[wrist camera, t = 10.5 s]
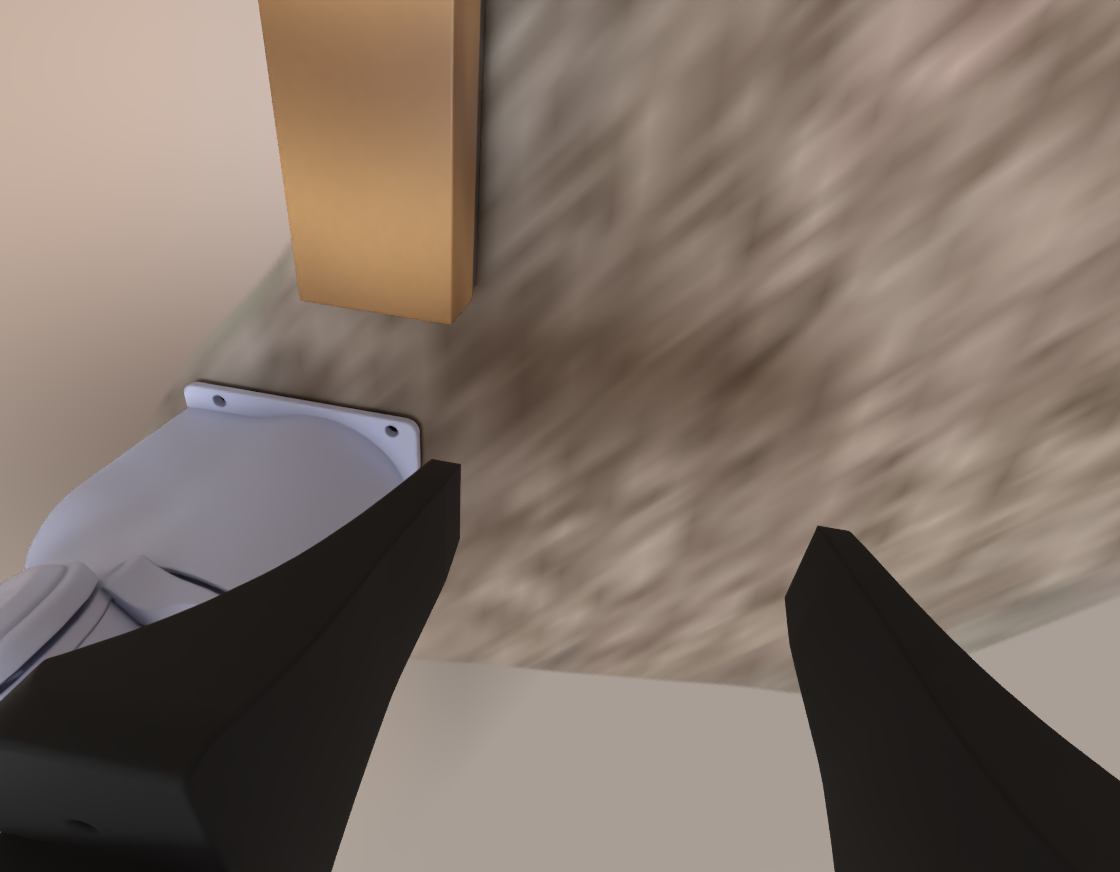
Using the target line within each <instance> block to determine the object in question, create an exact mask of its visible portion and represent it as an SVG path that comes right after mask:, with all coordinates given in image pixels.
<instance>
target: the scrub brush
mask: <svg viewBox="0 0 1120 872" xmlns="http://www.w3.org/2000/svg"><path fill="white" fill-rule="evenodd" d="M258 2H259V9H260V16H261V23H262V31H263V38H264V45H265V53H266V60H267V66H268V74H269V81H270V88H271V96H272V103H273V110H274V117H275V125H276V131H277V139H278V146H279V153H280V161H281V168H282V174H283V182H284V189H285V196H286V203H287V211H288V218H289V226H290V233H291V240H292V247H293V254H294V262H295V269H296V276H297V283H298V290H299V298H300V300H301V301H307V302H313V303H319V304H325V305H331V306H338V307H344V308H350V309H356V310H362V311H368V312H375V313H381V314H387V315H393V316H399V317H405V318H412V319H418V320H424V321H430V322H436V323H442V324H449V325H451V324H452V323H453V322H454V321H455V320H456V318H457V317H458V316H459V315H460V314H461V312H462V311H463V310H464V309H465V307H466V306H467V305H468V304H469V303H470V301H471V300H472V289H473V288H474V286H475V285H476V270H477V239H478V209H479V178H480V147H481V117H482V86H483V55H484V25H485V0H258Z"/></svg>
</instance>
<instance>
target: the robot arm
mask: <svg viewBox="0 0 1120 872" xmlns="http://www.w3.org/2000/svg"><path fill="white" fill-rule="evenodd" d="M184 395H185V399H186V403H187V406H188V408H187V409H185V410H184V411H183V412H181V413H180V414H178V415H177V416H175V417H174V418H173V419H171V420H170V421H168V422H167V423H166V424H164V425H163V426H161V427H160V428H159V429H157V430H156V431H154V432H153V433H152V434H150V435H149V436H147V437H146V438H145V439H143V440H142V441H140V442H139V443H137V444H136V445H135V446H133V447H132V448H130V449H129V450H128V451H126V452H125V453H123V454H122V455H121V456H119V457H118V458H116V459H115V460H114V461H112V462H111V463H110V464H108V465H107V466H105V467H104V468H102V469H101V470H100V471H98V472H97V473H95V474H94V475H92V476H91V477H90V478H88V479H87V480H85V481H84V482H83V483H81V484H80V485H78V486H77V487H76V488H74V489H73V490H72V491H71V492H70V493H69V494H67V495H66V496H65V497H64V498H63V499H62V500H61V501H60V502H59V503H58V504H57V506H56V507H55V508H54V509H53V510H52V512H51V513H50V514H49V516H48V517H47V518H46V520H45V521H44V523H43V524H42V526H41V528H40V529H39V531H38V533H37V534H36V536H35V538H34V540H33V542H32V544H31V547H30V549H29V552H28V555H27V558H26V562H25V567H24V571H22V572H20V573H18V574H16V575H14V576H12V577H11V578H9V579H7V580H5V581H4V582H2V583H0V872H331V871H332V868H333V865H334V861H335V858H336V855H337V852H338V849H339V846H340V843H341V840H342V837H343V834H344V831H345V828H346V825H347V822H348V819H349V816H350V812H351V810H352V807H353V804H354V800H355V798H356V795H357V792H358V789H359V786H360V783H361V780H362V777H363V775H364V772H365V769H366V766H367V763H368V760H369V757H370V754H371V751H372V749H373V746H374V743H375V740H376V738H377V735H378V732H379V729H380V727H381V724H382V721H383V718H384V716H385V713H386V710H387V708H388V705H389V702H390V699H391V696H392V694H393V692H394V690H395V687H396V685H397V683H398V680H399V678H400V676H401V674H402V672H403V669H404V667H405V665H406V663H407V661H408V659H409V657H410V655H411V653H412V651H413V649H414V647H415V644H416V642H417V640H418V638H419V636H420V634H421V632H422V630H423V628H424V626H425V624H426V622H427V619H428V617H429V615H430V613H431V611H432V609H433V607H434V605H435V603H436V601H437V598H438V596H439V594H440V592H441V590H442V588H443V586H444V583H445V581H446V578H447V575H448V573H449V570H450V567H451V564H452V561H453V558H454V555H455V552H456V548H457V545H458V542H459V539H460V484H461V464H457V463H451V462H445V461H440V460H434V459H432V460H430V461H429V462H427V463H426V464H425V465H423V466H422V467H421V462H420V430H419V427H418V425H417V424H416V423H415V422H414V421H413V420H411V419H408V418H404V417H398V416H392V415H386V414H381V413H375V412H369V411H363V410H358V409H352V408H346V407H340V406H335V405H329V404H323V403H317V402H312V401H306V400H300V399H294V398H289V397H283V396H277V395H271V394H266V393H260V392H254V391H248V390H243V389H237V388H231V387H225V386H220V385H214V384H208V383H202V382H193V383H191V384H189V385H188V386H186V387H185V389H184ZM220 396H221V397H222V398H224V400H225V401H223V400H222V399H221V398H220ZM389 426H394V427H395V428H396V429H397V430H398V432H395V431H392V430H391V429H390V427H389ZM785 605H786V616H787V626H788V635H789V643H790V648H791V653H792V657H793V661H794V665H795V670H796V674H797V678H798V682H799V686H800V690H801V694H802V698H803V702H804V705H805V710H806V714H807V718H808V722H809V726H810V730H811V734H812V738H813V742H814V746H815V750H816V754H817V758H818V763H819V768H820V773H821V777H822V782H823V788H824V795H825V802H826V809H827V816H828V823H829V830H830V837H831V845H832V853H833V861H834V870H835V872H1120V781H1119V780H1118V779H1117V778H1115V777H1114V776H1112V775H1111V774H1110V773H1109V772H1107V771H1106V770H1105V769H1104V768H1102V767H1101V766H1100V765H1098V764H1097V763H1096V762H1094V761H1093V760H1092V759H1090V758H1089V757H1088V756H1086V755H1085V754H1084V753H1083V752H1081V751H1080V750H1079V749H1077V748H1076V747H1075V746H1073V745H1072V744H1071V743H1070V742H1068V741H1067V740H1066V739H1064V738H1063V737H1062V736H1061V735H1059V734H1058V733H1057V732H1056V731H1054V730H1053V729H1052V728H1051V727H1049V726H1048V725H1047V724H1046V723H1045V722H1043V721H1042V720H1041V719H1040V718H1038V717H1037V716H1036V715H1035V714H1034V713H1033V712H1031V711H1030V710H1029V709H1028V708H1027V707H1026V706H1024V705H1023V704H1022V703H1021V702H1020V701H1018V700H1017V699H1016V698H1015V697H1014V696H1013V695H1012V694H1010V693H1009V692H1008V691H1007V690H1006V689H1005V688H1003V687H1002V686H1001V685H1000V684H999V683H998V682H997V681H995V679H993V678H992V677H991V676H990V675H989V674H988V673H987V672H986V671H985V670H984V669H982V668H981V667H980V666H979V665H978V664H977V663H976V662H975V661H974V660H973V659H972V658H971V657H970V656H969V655H968V654H967V653H966V652H965V651H964V650H963V649H962V648H961V647H960V646H959V645H957V644H956V643H955V642H954V641H953V640H952V639H951V638H950V637H949V636H948V635H947V634H946V633H945V632H944V631H943V630H942V629H941V628H940V627H939V626H938V625H937V624H936V623H935V622H934V621H933V619H932V618H931V617H930V616H929V615H928V614H927V613H926V612H925V611H924V610H923V609H922V608H921V607H920V606H919V605H918V604H917V603H916V602H915V601H914V600H913V598H912V597H911V596H910V595H909V594H908V593H907V592H906V591H905V590H904V589H903V588H902V587H901V586H900V584H899V583H898V582H897V581H896V580H895V579H894V578H893V577H892V576H891V575H890V574H889V572H888V571H887V570H886V569H885V568H884V567H883V566H882V565H881V564H880V563H879V562H878V560H877V559H876V558H875V557H874V556H873V555H872V554H871V553H870V552H869V551H868V550H867V549H866V547H865V546H864V545H863V544H862V543H861V542H860V541H859V540H858V539H857V538H856V537H855V536H854V535H853V534H852V533H851V532H850V531H846V530H840V529H834V528H828V527H823V526H817V528H816V531H815V533H814V535H813V537H812V539H811V541H810V544H809V546H808V548H807V550H806V552H805V554H804V557H803V559H802V561H801V563H800V565H799V568H798V570H797V572H796V574H795V576H794V578H793V581H792V583H791V585H790V587H789V589H788V591H787V594H786V596H785Z"/></svg>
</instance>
